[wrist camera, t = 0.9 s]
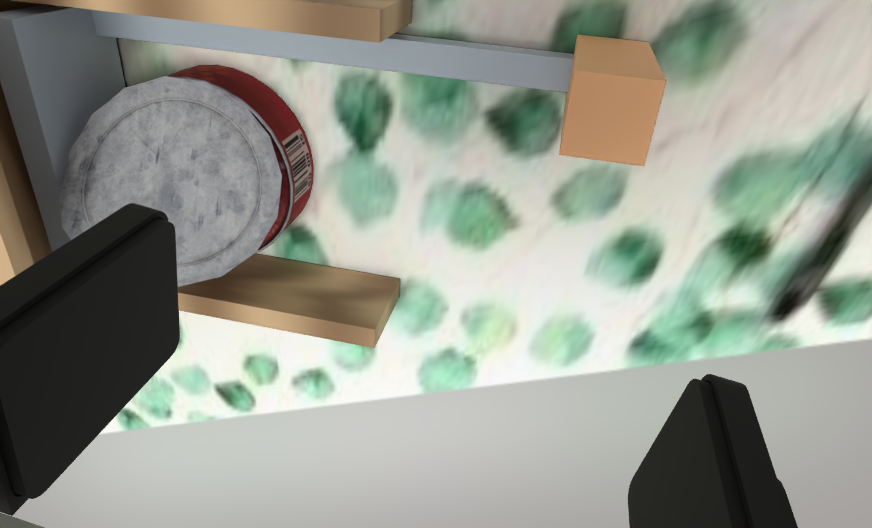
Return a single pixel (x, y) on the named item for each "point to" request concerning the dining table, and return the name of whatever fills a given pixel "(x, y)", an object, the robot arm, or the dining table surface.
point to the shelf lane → (259, 274)
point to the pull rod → (103, 78)
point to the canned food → (194, 165)
